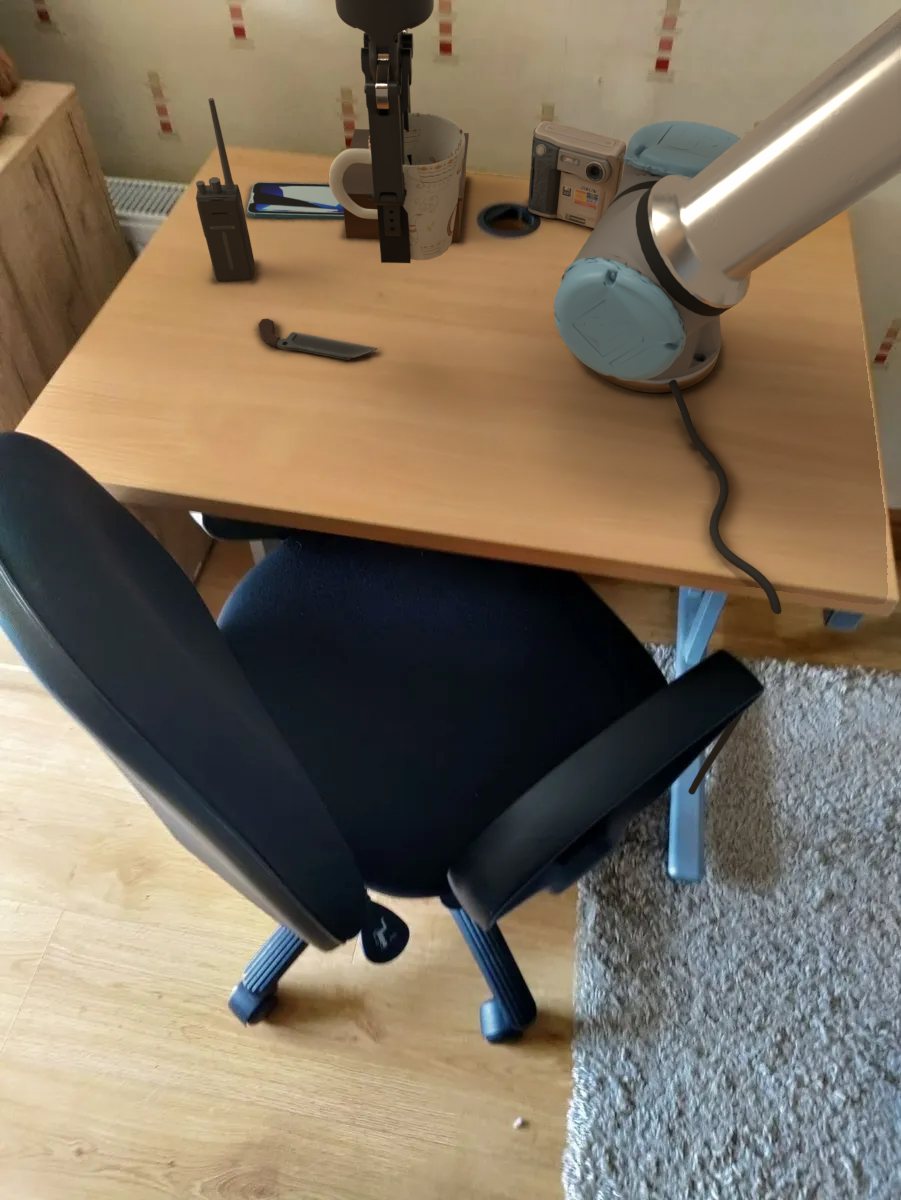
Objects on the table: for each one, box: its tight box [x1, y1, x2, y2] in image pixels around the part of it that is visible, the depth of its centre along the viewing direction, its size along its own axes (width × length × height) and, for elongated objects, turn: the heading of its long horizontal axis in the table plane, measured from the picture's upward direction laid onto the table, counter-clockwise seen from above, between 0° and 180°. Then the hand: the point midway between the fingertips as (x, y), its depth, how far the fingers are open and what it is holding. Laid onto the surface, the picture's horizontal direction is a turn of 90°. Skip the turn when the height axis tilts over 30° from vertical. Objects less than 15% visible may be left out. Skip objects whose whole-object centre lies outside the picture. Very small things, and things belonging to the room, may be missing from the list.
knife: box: [258, 318, 378, 361], centre depth 97 cm, size 14×4×1 cm, turn 74°
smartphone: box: [246, 181, 344, 220], centre depth 113 cm, size 7×1×15 cm
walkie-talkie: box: [195, 97, 255, 282], centre depth 97 cm, size 5×3×20 cm
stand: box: [342, 128, 470, 243], centre depth 110 cm, size 15×15×6 cm
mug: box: [328, 112, 465, 261], centre depth 80 cm, size 8×13×10 cm, turn 81°
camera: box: [527, 120, 627, 229], centre depth 108 cm, size 11×6×10 cm, turn 61°
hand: (398, 238), depth 84 cm, fingers closed on mug, 6 cm apart
